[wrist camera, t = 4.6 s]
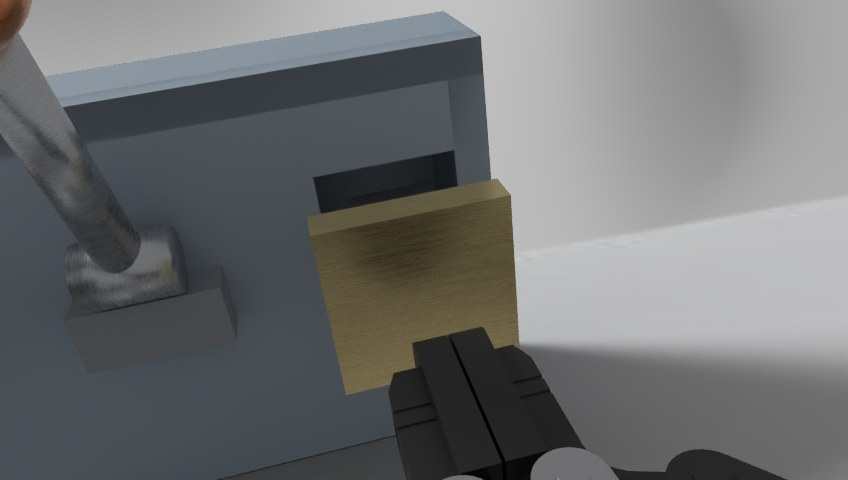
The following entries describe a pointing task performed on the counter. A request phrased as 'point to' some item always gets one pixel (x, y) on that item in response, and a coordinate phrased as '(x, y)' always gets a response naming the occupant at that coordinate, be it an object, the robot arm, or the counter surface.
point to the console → (223, 248)
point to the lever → (80, 189)
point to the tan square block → (414, 273)
